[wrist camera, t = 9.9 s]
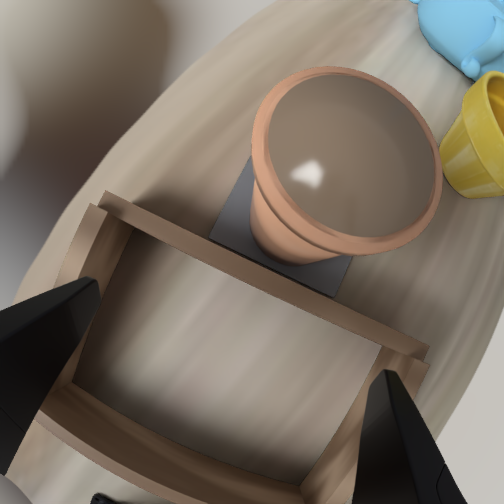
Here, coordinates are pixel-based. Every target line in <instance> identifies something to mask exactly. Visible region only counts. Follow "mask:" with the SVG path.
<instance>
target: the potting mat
mask: <svg viewBox="0 0 504 504" xmlns="http://www.w3.org/2000/svg"><path fill="white" fill-rule="evenodd" d="M254 181H255V176H254V173H253V167H252V161H251V156H250V158H249V160H248V162H247V164H246V165H245V167H244V169H243V171H242V173H241V175H240V177H239V178H238V180H237V182H236V184H235V186H234V188H233V190H232V192H231V194H230V196H229V197H228V199H227V201H226V203H225V205H224V207H223V209H222V211H221V213H220V215H219V217H218V219H217V221H216V223H215V225H214V227H213V229H212V231H211V233H210V235H209V237H208V238H210V239H212V240H214V241H216V242H218V243H220V244H222V245H224V246H226V247H228V248H230V249H232V250H234V251H236V252H239V253H241V254H243V255H245V256H247V257H249V258H251V259H253V260H255V261H257V262H259V263H261V264H263V265H266V266H268V267H270V268H272V269H274V270H276V271H278V272H280V273H282V274H284V275H286V276H288V277H291V278H293V279H295V280H297V281H299V282H301V283H303V284H305V285H307V286H309V287H311V288H314V289H316V290H318V291H320V292H322V293H324V294H326V295H328V296H330V297H332V298H334V297H335V295H336V293H337V291H338V288H339V286H340V284H341V282H342V279H343V277H344V275H345V272H346V270H347V268H348V265H349V263H350V260H351V258H352V256H347V255H340V256H336V257H333V258H330V259H326V260H323V261H319V262H315V263H312V264H308V265H304V266H287V265H283V264H280V263H278V262H275V261H274V260H272V259H270V258H269V257H267V256H266V255H265V254H264V253H263V252H262V251H261V250H260V249H259V247H258V246H257V245H256V243H255V241H254V239H253V237H252V234H251V231H250V225H249V214H250V207H251V201H252V194H253V187H254Z"/></svg>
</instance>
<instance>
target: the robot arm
mask: <svg viewBox="0 0 504 504" xmlns="http://www.w3.org/2000/svg"><path fill="white" fill-rule="evenodd" d="M100 304H101V294H100V288H99V283H98V281H97V280H96V279H94V278H92V277H90V276H84V277H82V278H79V279H77V280H74V281H71V282H69V283H66V284H64V285H61V286H59V287H57V288H54V289H52V290H49V291H47V292H44V293H42V294H39V295H37V296H34V297H32V298H30V299H27V300H25V301H22V302H20V303H18V304H15V305H13V306H11V307H8V308H6V309H4V310H1V311H0V474H2V475H3V476H5V474H6V473H7V471H8V468H9V466H10V464H11V462H12V460H13V458H14V456H15V454H16V452H17V450H18V448H19V446H20V444H21V442H22V440H23V438H24V436H25V434H26V432H27V430H28V429H29V427H30V425H31V423H32V421H33V419H34V417H35V416H36V414H37V412H38V410H39V409H40V407H41V405H42V403H43V402H44V400H45V398H46V396H47V395H48V393H49V391H50V390H51V388H52V386H53V385H54V383H55V381H56V380H57V378H58V376H59V375H60V373H61V372H62V370H63V368H64V367H65V365H66V364H67V362H68V360H69V359H70V357H71V356H72V354H73V353H74V351H75V349H76V348H77V346H78V345H79V343H80V342H81V340H82V338H83V336H84V334H85V332H86V330H87V328H88V327H89V325H90V323H91V321H92V319H93V317H94V315H95V313H96V312H97V310H98V308H99V306H100ZM444 463H445V461H444V459H443V457H442V455H441V453H440V451H439V449H438V447H437V445H436V443H435V441H434V439H433V437H432V435H431V433H430V431H429V429H428V428H427V426H426V424H425V422H424V420H423V418H422V416H421V414H420V413H419V411H418V409H417V407H416V405H415V403H414V402H413V400H412V398H411V396H410V394H409V393H408V391H407V389H406V387H405V386H404V384H403V382H402V380H401V379H400V377H399V375H398V373H397V372H396V371H394V370H389V369H383V370H382V371H381V372H380V373H379V374H378V375H377V377H376V378H375V379H374V380H373V381H372V383H371V384H370V386H369V389H368V395H367V401H366V407H365V412H364V418H363V423H362V428H361V434H360V443H359V453H358V462H357V471H356V478H355V485H354V492H353V499H352V504H467V502H466V500H465V499H464V497H463V495H462V494H461V492H460V490H459V488H458V486H457V485H456V483H455V481H454V479H453V477H452V475H451V473H450V471H449V469H448V467H447V465H446V464H444ZM90 504H115V503H113V502H111V501H110V500H108V499H106V498H104V497H102V496H101V495H99V494H94V496H93V497H92V500H91V503H90Z"/></svg>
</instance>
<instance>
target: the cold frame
mask: <svg viewBox="0 0 504 504" xmlns="http://www.w3.org/2000/svg"><path fill="white" fill-rule="evenodd" d="M134 227H135V228H137V229H139V230H141V231H143V232H145V233H147V234H149V235H151V236H153V237H155V238H157V239H159V240H161V241H163V242H165V243H167V244H169V245H171V246H172V247H174V248H176V249H178V250H180V251H182V252H184V253H186V254H188V255H190V256H192V257H194V258H196V259H198V260H200V261H202V262H204V263H206V264H208V265H211V266H213V267H215V268H217V269H219V270H221V271H223V272H225V273H227V274H229V275H231V276H233V277H235V278H237V279H239V280H241V281H243V282H245V283H247V284H250V285H252V286H254V287H256V288H258V289H260V290H262V291H264V292H266V293H268V294H271V295H273V296H275V297H277V298H279V299H281V300H283V301H285V302H288V303H290V304H292V305H294V306H296V307H298V308H300V309H303V310H305V311H307V312H309V313H311V314H313V315H316V316H318V317H320V318H322V319H324V320H327V321H329V322H331V323H333V324H335V325H338V326H340V327H342V328H344V329H346V330H349V331H351V332H353V333H355V334H358V335H360V336H362V337H364V338H367V339H369V340H371V341H374V342H376V343H378V344H380V345H383V346H382V348H381V350H380V352H379V354H378V356H377V358H376V360H375V363H374V365H373V367H372V369H371V371H370V373H369V375H368V376H367V378H366V380H365V382H364V384H363V386H362V388H361V390H360V392H359V393H358V395H357V397H356V399H355V401H354V403H353V404H352V406H351V408H350V410H349V411H348V413H347V415H346V416H345V418H344V420H343V422H342V423H341V425H340V427H339V428H338V430H337V431H336V433H335V435H334V436H333V438H332V439H331V441H330V443H329V444H328V446H327V447H326V449H325V450H324V452H323V453H322V455H321V456H320V458H319V459H318V461H317V462H316V464H315V465H314V466H313V468H312V469H311V471H310V472H309V474H308V475H307V476H306V478H305V479H304V480H303V482H302V483H301V485H300V486H297V485H293V484H289V483H285V482H281V481H278V480H274V479H271V478H267V477H264V476H261V475H258V474H254V473H251V472H248V471H245V470H242V469H239V468H237V467H234V466H231V465H228V464H226V463H223V462H220V461H218V460H215V459H213V458H210V457H208V456H205V455H203V454H200V453H198V452H196V451H193V450H191V449H189V448H186V447H184V446H182V445H180V444H178V443H176V442H173V441H171V440H169V439H167V438H165V437H163V436H161V435H159V434H157V433H155V432H153V431H151V430H149V429H147V428H145V427H144V426H142V425H140V424H138V423H136V422H134V421H133V420H131V419H129V418H127V417H126V416H124V415H122V414H120V413H119V412H117V411H115V410H114V409H112V408H110V407H109V406H107V405H106V404H104V403H102V402H101V401H99V400H98V399H96V398H95V397H93V396H92V395H90V394H89V393H87V392H86V391H84V390H83V389H81V388H80V387H78V386H77V385H75V384H74V383H73V382H72V380H73V377H74V374H75V370H76V367H77V364H78V361H79V358H80V356H81V353H82V350H83V347H84V344H85V341H86V339H87V336H88V333H89V330H90V328H91V325H92V323H93V320H94V317H95V315H96V313H95V315H94V317H93V319H92V321H91V323H90V325H89V327H88V328H87V330H86V332H85V334H84V336H83V338H82V340H81V342H80V343H79V345H78V346H77V348H76V349H75V351H74V353H73V354H72V356H71V357H70V359H69V360H68V362H67V364H66V365H65V367H64V368H63V370H62V372H61V373H60V375H59V376H58V378H57V380H56V381H55V383H54V385H53V386H52V388H51V390H50V391H49V393H48V395H47V396H46V398H45V400H44V402H43V403H42V405H41V407H40V409H39V410H38V412H37V414H36V416H35V417H34V420H36V421H37V422H38V423H39V424H41V425H42V426H43V427H44V428H46V429H47V430H48V431H50V432H51V433H52V434H54V435H55V436H56V437H58V438H59V439H60V440H62V441H63V442H65V443H66V444H67V445H69V446H70V447H72V448H73V449H75V450H76V451H78V452H79V453H81V454H82V455H84V456H85V457H87V458H88V459H90V460H92V461H93V462H95V463H96V464H98V465H100V466H101V467H103V468H105V469H106V470H108V471H110V472H112V473H113V474H115V475H117V476H119V477H121V478H123V479H124V480H126V481H128V482H130V483H132V484H134V485H136V486H138V487H140V488H142V489H144V490H146V491H148V492H150V493H153V494H155V495H157V496H159V497H161V498H164V499H166V500H168V501H171V502H173V503H176V504H344V503H345V502H346V501H347V500H348V498H349V497H350V496H351V495H352V493H353V492H354V485H355V478H356V471H357V462H358V453H359V443H360V434H361V428H362V423H363V418H364V412H365V407H366V401H367V395H368V389H369V386H370V384H371V383H372V381H373V380H374V379H375V378H376V377H377V375H378V374H379V373H380V372H381V371H382V370H383V369H389V370H394V371H396V372H397V373H398V375H399V377H400V379H401V380H402V382H403V384H404V386H405V387H406V389H407V391H408V393H409V394H410V396H411V398H412V400H413V399H414V397H415V395H416V393H417V391H418V389H419V387H420V385H421V383H422V381H423V379H424V377H425V375H426V373H427V371H428V369H429V366H430V365H429V364H427V363H424V362H423V360H424V358H425V355H426V353H427V351H428V349H429V345H427V344H424V343H422V342H420V341H418V340H416V339H414V338H412V337H409V336H407V335H405V334H403V333H401V332H399V331H397V330H394V329H392V328H390V327H388V326H386V325H384V324H382V323H379V322H377V321H375V320H373V319H371V318H369V317H367V316H365V315H362V314H360V313H358V312H356V311H354V310H352V309H350V308H348V307H346V306H343V305H341V304H339V303H337V302H335V301H333V300H331V299H329V298H327V297H324V296H322V295H320V294H318V293H316V292H314V291H312V290H310V289H308V288H305V287H303V286H301V285H299V284H297V283H295V282H293V281H291V280H289V279H287V278H285V277H282V276H280V275H278V274H276V273H274V272H272V271H270V270H268V269H266V268H264V267H262V266H260V265H257V264H255V263H253V262H251V261H249V260H247V259H245V258H243V257H241V256H239V255H237V254H235V253H233V252H231V251H228V250H226V249H224V248H222V247H220V246H218V245H216V244H214V243H212V242H210V241H208V240H206V239H204V238H202V237H200V236H198V235H196V234H193V233H191V232H189V231H187V230H185V229H183V228H181V227H179V226H177V225H175V224H173V223H171V222H169V221H167V220H165V219H163V218H161V217H159V216H157V215H155V214H153V213H151V212H149V211H147V210H145V209H142V208H140V207H138V206H136V205H134V204H132V203H130V202H128V201H126V200H124V199H122V198H120V197H118V196H116V195H114V194H112V193H110V192H108V191H106V190H105V192H104V194H103V196H102V198H101V200H100V202H99V204H98V206H95V205H93V204H92V203H90V204H89V206H88V208H87V210H86V212H85V214H84V216H83V219H82V221H81V223H80V225H79V227H78V229H77V231H76V234H75V236H74V238H73V240H72V242H71V245H70V247H69V249H68V252H67V254H66V256H65V259H64V261H63V264H62V266H61V269H60V271H59V274H58V276H57V279H56V282H55V284H54V287H53V289H54V288H57V287H59V286H61V285H64V284H66V283H69V282H71V281H74V280H77V279H79V278H82V277H84V276H90V277H92V278H94V279H96V280H97V281H98V283H99V288H100V294H101V300H102V297H103V295H104V293H105V290H106V288H107V286H108V283H109V281H110V279H111V276H112V274H113V272H114V270H115V267H116V265H117V263H118V261H119V259H120V256H121V254H122V252H123V250H124V248H125V246H126V244H127V242H128V240H129V238H130V235H131V233H132V231H133V229H134Z"/></svg>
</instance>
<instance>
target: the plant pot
mask: <svg viewBox="0 0 504 504" xmlns="http://www.w3.org/2000/svg"><path fill="white" fill-rule="evenodd" d="M439 153H440V158H441V163H442V171H443V173H444V175H445V177H446V179H447V180H448V182H449V183H450V185H451V186H452V187H453V188H454V189H455V190H456V191H457V192H458V193H459V194H461V195H462V196H464V197H466V198H471V199H474V198H483V197H494V196H504V73H502V72H499V71H488V72H486V73H485V74H484V75H483V76H482V77H481V78H479V79H478V80H477V81H476V82H475V83H474V84H473V85H472V86H471V88H470V89H469V90H468V91H467V92H466V93H465V95H464V98H463V102H462V110H461V112H460V114H459V115H458V117H457V118H456V120H455V121H454V123H453V125H452V126H451V128H450V129H449V131H448V132H447V134H446V135H445V136H444V138H443V140H442V141H441V144H440V147H439Z"/></svg>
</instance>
